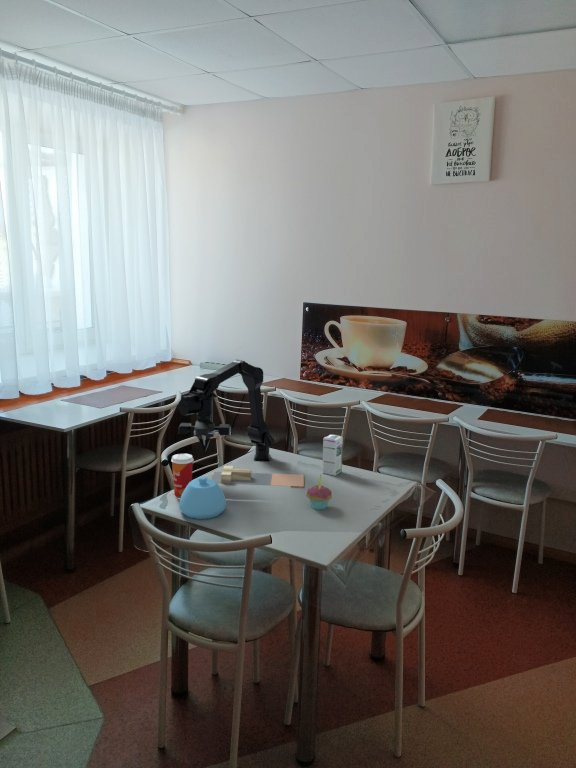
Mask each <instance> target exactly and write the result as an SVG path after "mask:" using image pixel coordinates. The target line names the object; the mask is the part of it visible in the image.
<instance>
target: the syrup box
mask: <svg viewBox="0 0 576 768" xmlns="http://www.w3.org/2000/svg"><path fill="white" fill-rule="evenodd" d="M322 440H323V442H322V443H323V445H322V474H324V475H325V474H326V475H330V476H337V475H338V474H340V473H341V472H342V470H343V446H344V445H343V441H344V438H343V436H342V435H338V434H329V435H328V436H324V437H323V439H322Z"/></svg>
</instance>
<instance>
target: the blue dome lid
mask: <svg viewBox="0 0 576 768" xmlns="http://www.w3.org/2000/svg"><path fill="white" fill-rule="evenodd" d="M179 499H180V500H179V504H178V505H179V510H180V511H181V513H182V514H184V515H185V516H186V517H188V518H190V519H194V518H195V519H196V520H208V519H212V518H216V517H218V516H220V515H221V514H222V513H223V512H224V510H226V506H227V502H226V497H225V494H224V492H223V490H222V488H221V487H220V485H219V483H216V482H215V481H214V480H212V478H211V479H210V478H208V477H207V476H199V477H198V478H197V479H192V481H191V482H190V483H189V484H188V485H187V487H186V488H185V490H184V491H183V493H182V495H181V498H179ZM207 518H208V519H207Z"/></svg>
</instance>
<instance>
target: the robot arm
mask: <svg viewBox="0 0 576 768" xmlns="http://www.w3.org/2000/svg"><path fill="white" fill-rule="evenodd" d="M237 374H239V375H241V378H242V379H241V380H242V382H243V384H244V385H245V388H247V391H248V402H249V409H250V417H251V418H250V419H251V422H250V425H249V426H247V427H246V429H247V436H248V438H249V440H250V442H251V444H255V452H254V453H255V454H254V457H253V460H254V461H262V462H264V461H265V462H266V461H267V462H270V461H271V456H272V455H271V454H270V448H271V447H273V446H274V445H275V442H276V440H275V438H274V437H273V436H272V435H271V432H270V428H269V426H268V424H267V423H266V421H265V417H264V410H263V407H264V406H263V401H262V399H263V398H262V391H261V387H262V384H263V383H264V370H263V369H262V368H261V367H259V366H254V365H252V364H249V363H248V362H246V361H245V360H241V359H234V360H233V361H231V362H230V363H228V364H227V365H224V366H223V367H221V368H219V369H217V370H216V371H214V372H211V373H205V374H201V375H197V376H196V377H195V378H194V382H193V383H192V384H191V385H192V386H191V388H190V390H189V391H188V393H187V395H183V396H181V399H180V400H179V402H178V404H177V409H178V412H179V414H181V416H183V417H185V416H189V415H194V414H196V421H195V425H192V423H191V422H181V423H180V424H179V426H178V428H177V434H178V435H187V434H188V433H189V432H193V437H196V438H197V439H198V441H199V443H200V445H201V446H200V447H201V448H202V452H203V453H205V452H207V449H208V446H209V443H210V441H211V438H214V437H215V435H216V433H218V435H220V436H230V435H231V432H232V426H231V424H227V423H220V424H219V426H215V422H214V421H213V417H214V416H213V415H214V414H213V411H214V410H213V403H214V401H213V399H214V398H217V397H218V395H217V394H216V393H215V391H217V390H218V388H219V387H220V385H221V384H222V383H223V382H225V381H227V380H228V379H230V378H232V377H234V376H235V375H237Z"/></svg>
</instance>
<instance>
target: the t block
mask: <svg viewBox="0 0 576 768" xmlns="http://www.w3.org/2000/svg"><path fill="white" fill-rule="evenodd" d="M221 472H222V473H221V482H224V483H231V480H251V473H252V469H248V468H234V465H223V468H222V471H221Z"/></svg>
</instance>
